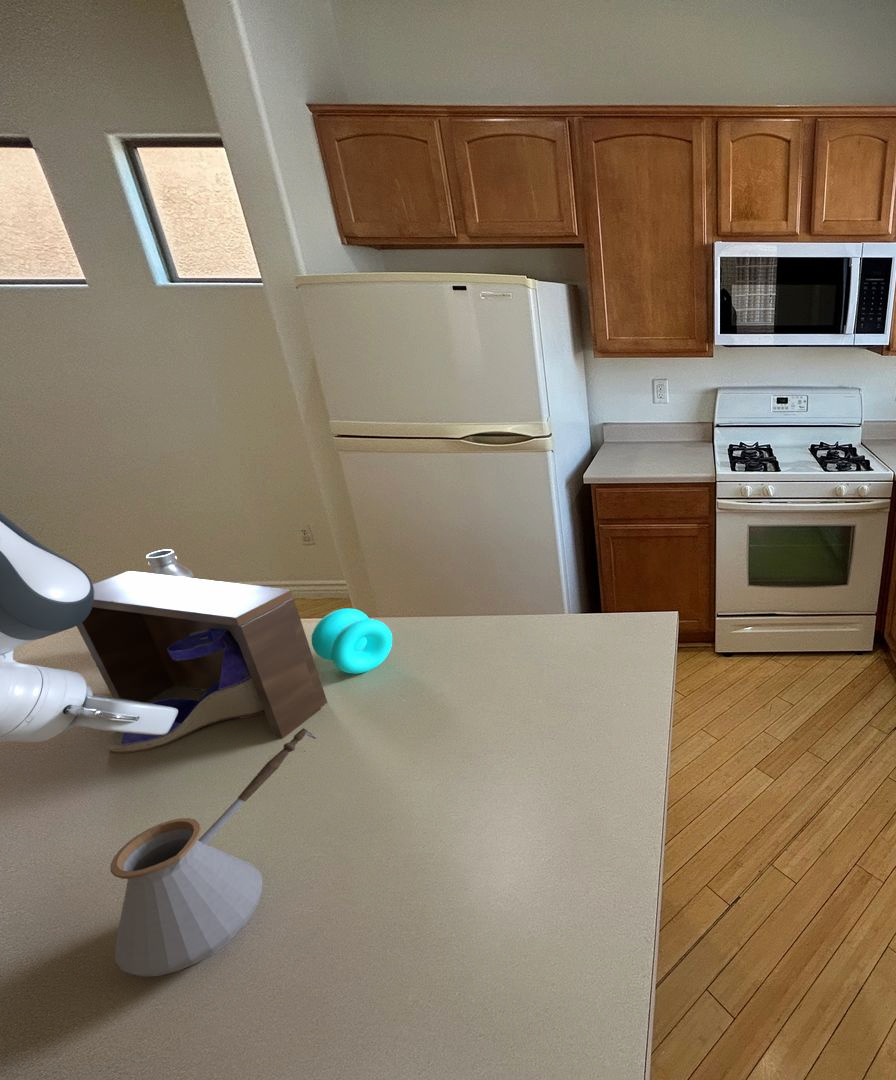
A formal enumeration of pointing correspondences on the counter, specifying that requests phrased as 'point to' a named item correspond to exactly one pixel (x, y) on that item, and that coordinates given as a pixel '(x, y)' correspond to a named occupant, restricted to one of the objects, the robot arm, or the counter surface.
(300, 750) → the counter surface
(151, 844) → the coffee pot
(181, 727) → the sandal
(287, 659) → the shoe rack
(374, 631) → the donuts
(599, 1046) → the counter surface
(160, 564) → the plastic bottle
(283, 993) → the counter surface
